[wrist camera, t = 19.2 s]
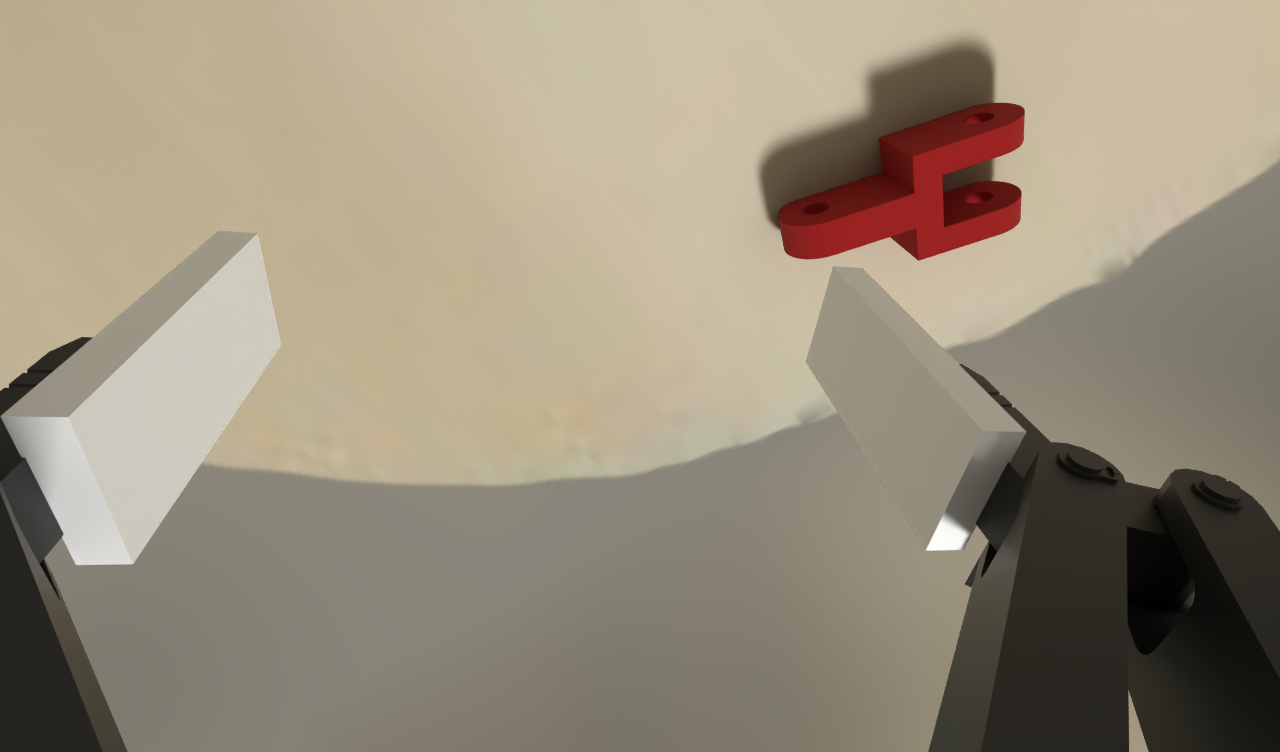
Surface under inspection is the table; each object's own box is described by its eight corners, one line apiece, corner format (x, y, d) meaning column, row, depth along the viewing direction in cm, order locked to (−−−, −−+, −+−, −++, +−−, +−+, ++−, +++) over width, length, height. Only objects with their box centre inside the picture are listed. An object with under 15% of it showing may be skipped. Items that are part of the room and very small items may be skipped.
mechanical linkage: (995, 97, 43) (1042, 113, 39) (993, 198, 47) (1036, 222, 43) (763, 175, 44) (785, 198, 40) (780, 268, 48) (802, 298, 44)
